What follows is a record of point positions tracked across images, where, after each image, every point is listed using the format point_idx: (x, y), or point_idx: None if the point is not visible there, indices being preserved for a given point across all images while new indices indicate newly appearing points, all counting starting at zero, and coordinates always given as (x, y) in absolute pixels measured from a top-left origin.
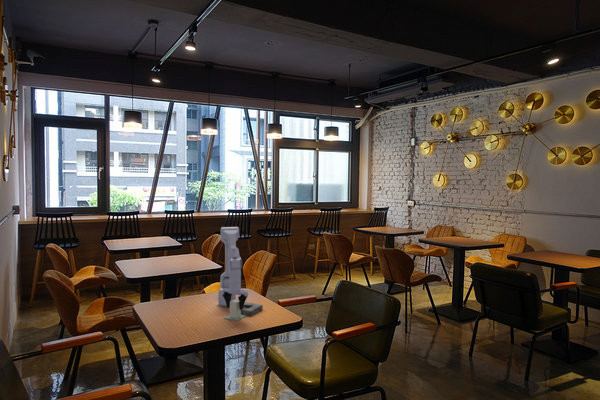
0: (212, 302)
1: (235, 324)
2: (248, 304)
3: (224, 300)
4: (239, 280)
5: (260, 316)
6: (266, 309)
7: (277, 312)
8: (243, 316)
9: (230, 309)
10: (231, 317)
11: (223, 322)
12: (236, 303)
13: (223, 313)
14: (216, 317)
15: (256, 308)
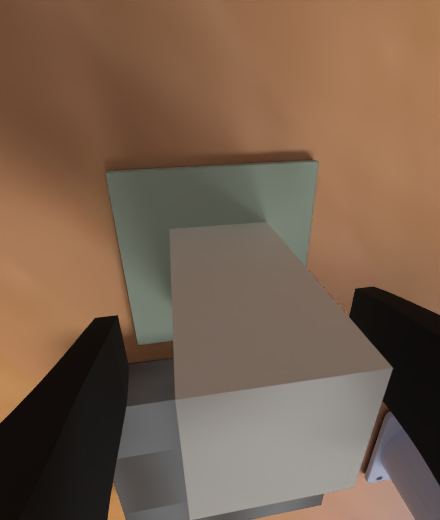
0: None
1: (18, 33)
2: None
3: None
4: None
5: (11, 405)
6: (111, 509)
7: None
8: (139, 314)
9: (292, 268)
10: (241, 222)
11: (242, 21)
12: (175, 383)
13: (390, 286)
14: (416, 152)
15: (115, 482)
